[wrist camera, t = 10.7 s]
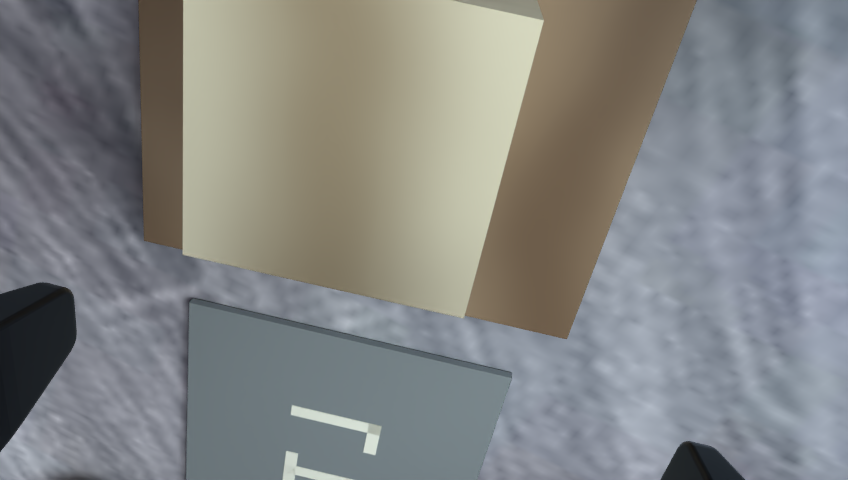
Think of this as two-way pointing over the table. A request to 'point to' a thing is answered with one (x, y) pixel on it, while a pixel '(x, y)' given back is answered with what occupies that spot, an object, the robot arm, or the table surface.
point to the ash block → (352, 138)
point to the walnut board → (527, 158)
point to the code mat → (329, 404)
